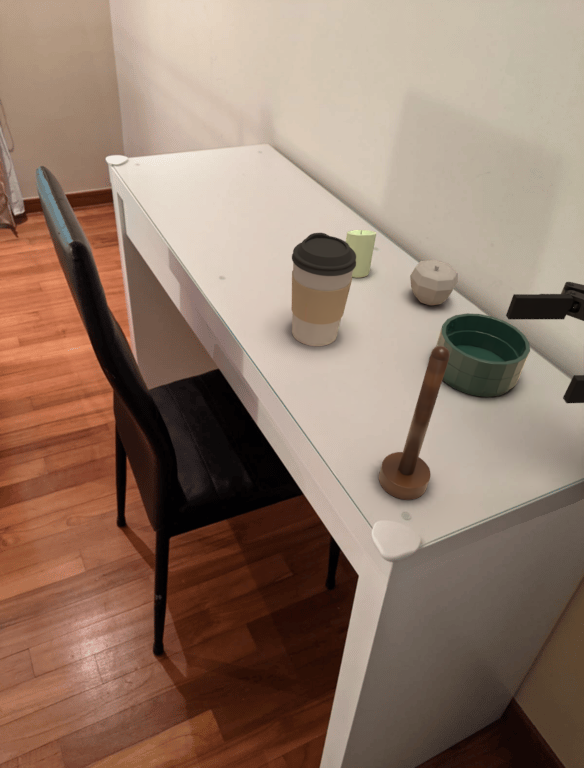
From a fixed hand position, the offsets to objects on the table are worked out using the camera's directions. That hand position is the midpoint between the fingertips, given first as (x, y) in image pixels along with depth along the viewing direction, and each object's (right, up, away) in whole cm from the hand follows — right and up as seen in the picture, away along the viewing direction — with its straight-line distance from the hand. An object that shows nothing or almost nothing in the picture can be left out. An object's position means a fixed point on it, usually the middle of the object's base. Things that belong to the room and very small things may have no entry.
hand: (537, 344), depth 60 cm
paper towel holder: (-11, -15, +11) cm, 22 cm away
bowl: (+2, -2, +29) cm, 29 cm away
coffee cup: (-21, +4, +33) cm, 39 cm away
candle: (-13, +16, +49) cm, 53 cm away
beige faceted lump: (-1, +10, +44) cm, 45 cm away
